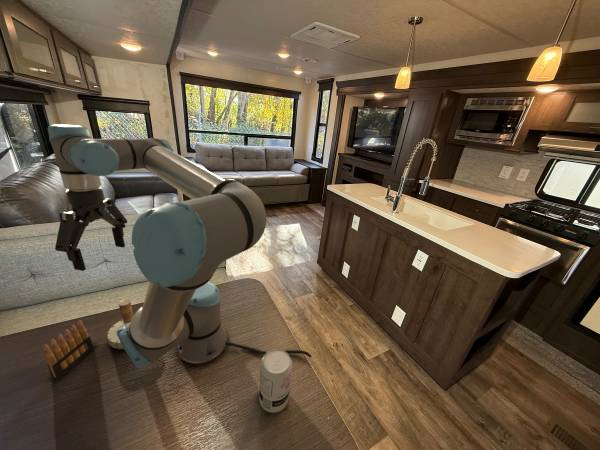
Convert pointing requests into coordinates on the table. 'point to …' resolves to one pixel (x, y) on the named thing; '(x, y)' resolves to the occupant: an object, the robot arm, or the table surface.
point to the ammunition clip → (67, 350)
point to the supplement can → (275, 380)
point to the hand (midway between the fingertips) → (102, 257)
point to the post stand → (126, 311)
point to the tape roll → (115, 336)
